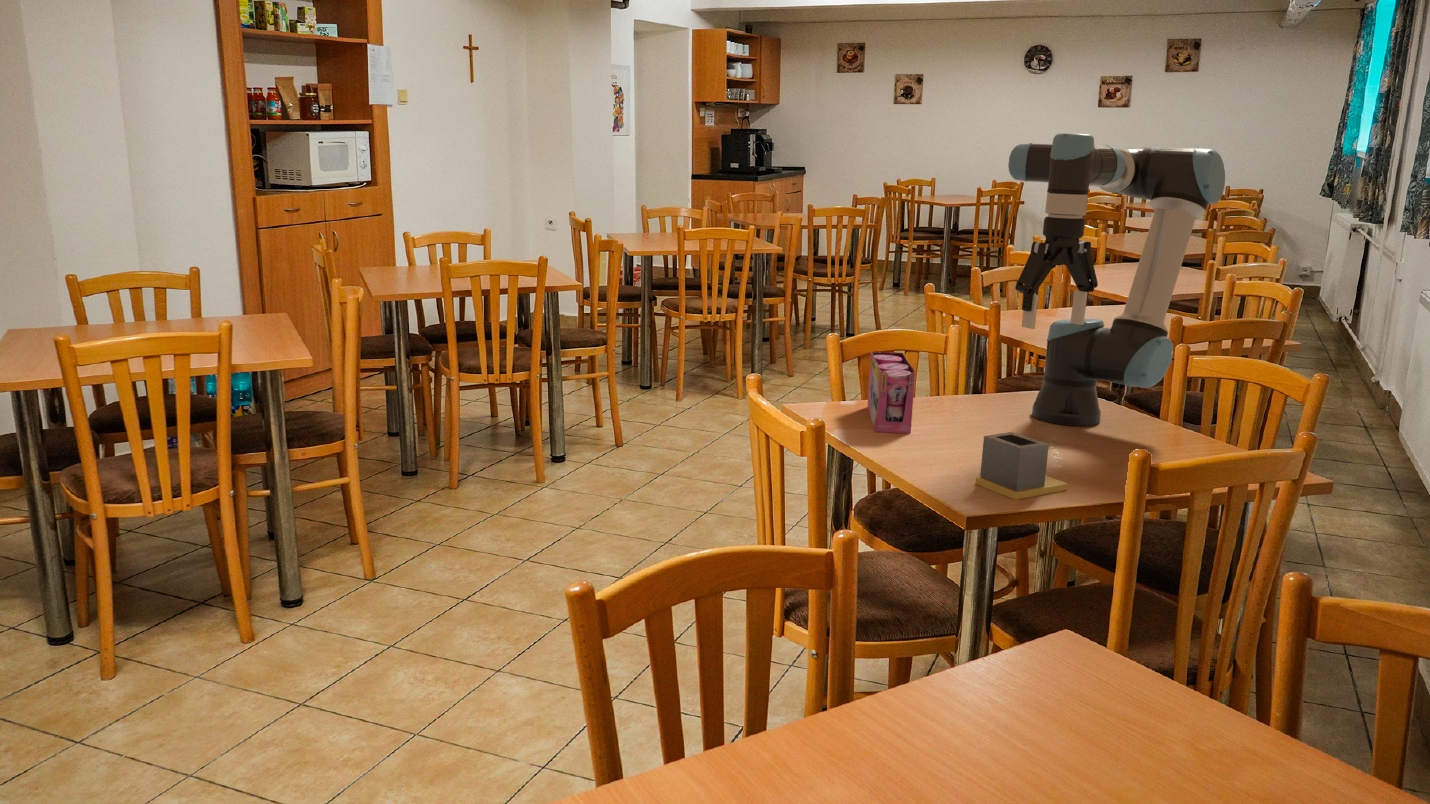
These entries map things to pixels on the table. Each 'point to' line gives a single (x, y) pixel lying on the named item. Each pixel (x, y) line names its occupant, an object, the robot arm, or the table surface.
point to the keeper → (1049, 487)
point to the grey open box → (1014, 461)
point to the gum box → (890, 392)
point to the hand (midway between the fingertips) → (1053, 325)
